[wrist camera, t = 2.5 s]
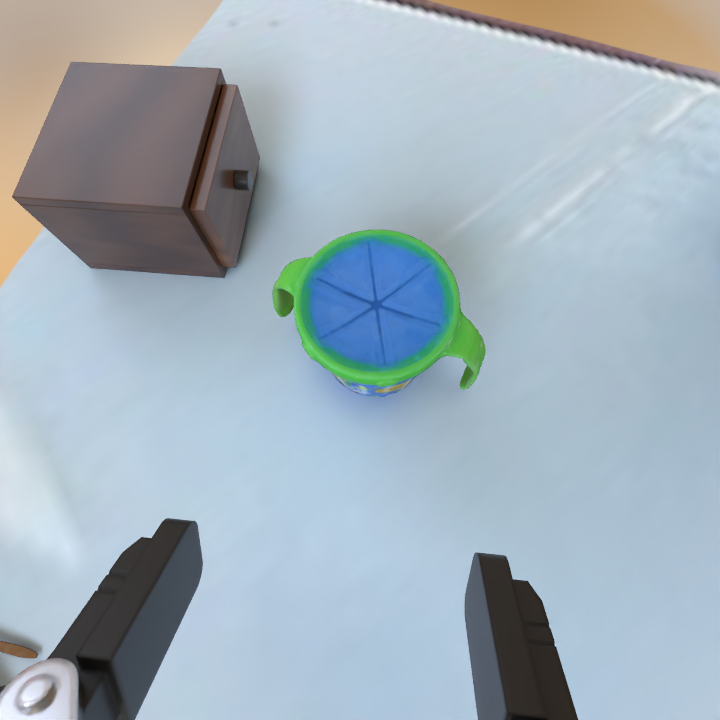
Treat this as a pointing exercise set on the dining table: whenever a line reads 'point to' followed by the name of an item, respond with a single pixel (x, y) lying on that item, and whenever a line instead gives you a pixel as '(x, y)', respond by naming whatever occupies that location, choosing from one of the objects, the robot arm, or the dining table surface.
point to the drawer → (226, 177)
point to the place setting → (17, 650)
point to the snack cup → (378, 311)
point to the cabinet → (125, 166)
